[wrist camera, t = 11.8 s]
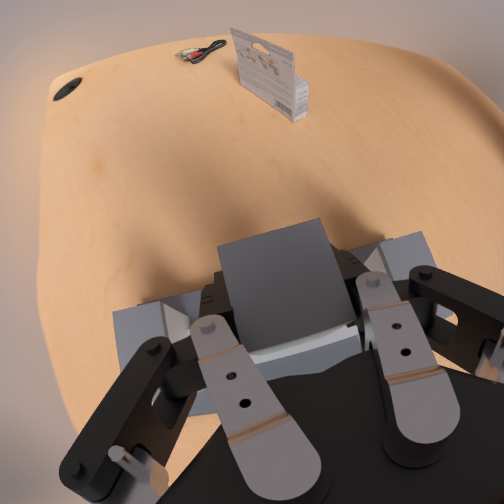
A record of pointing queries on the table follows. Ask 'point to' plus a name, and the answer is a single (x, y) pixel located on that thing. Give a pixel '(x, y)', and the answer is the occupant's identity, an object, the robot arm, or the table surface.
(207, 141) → the table surface
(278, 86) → the ink cartridge box
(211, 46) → the composite cable
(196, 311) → the board
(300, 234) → the block
